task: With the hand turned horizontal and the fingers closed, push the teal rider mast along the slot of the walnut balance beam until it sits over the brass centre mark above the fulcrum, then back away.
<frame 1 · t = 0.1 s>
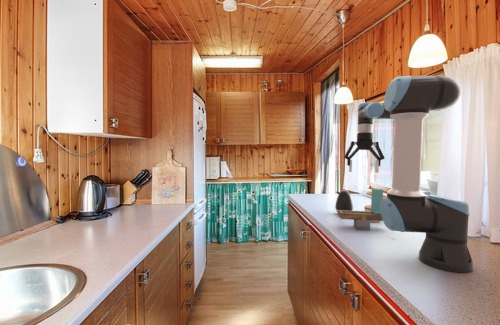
hand: (363, 172, 141), 28 cm above the countertop, tool pointing down, fingers open, 13 cm apart
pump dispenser: (343, 214, 162), on the countertop
rider: (376, 203, 132), point 13 cm above the countertop, slide at -7.0 cm
lidded jar: (374, 221, 149), on the countertop
beam: (361, 228, 133), on the countertop
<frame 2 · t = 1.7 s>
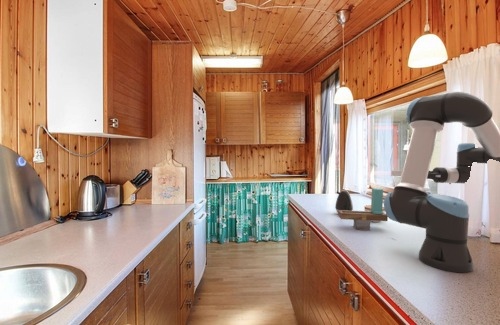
hand: (396, 173, 130), 28 cm above the countertop, tool horizontal, fingers open, 10 cm apart
nothing on the countertop moved.
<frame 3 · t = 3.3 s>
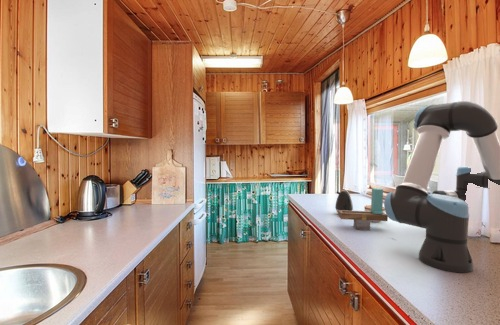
hand: (393, 197, 131), 16 cm above the countertop, tool horizontal, fingers closed
nothing on the countertop moved.
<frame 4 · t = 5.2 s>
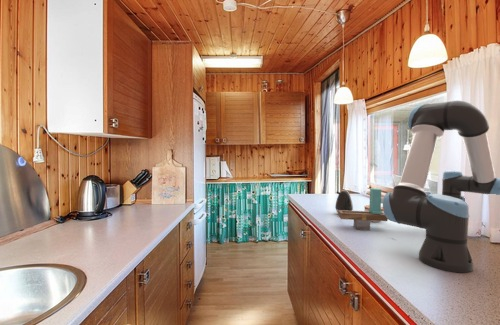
hand: (379, 200, 132), 14 cm above the countertop, tool horizontal, fingers closed
rider: (375, 203, 132), point 13 cm above the countertop, slide at -6.2 cm, touching gripper
everything else where it was.
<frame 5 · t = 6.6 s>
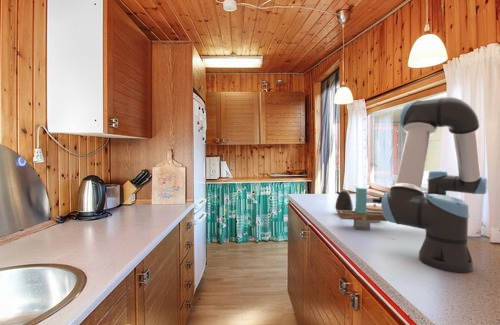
hand: (365, 199, 133), 14 cm above the countertop, tool horizontal, fingers closed
rider: (360, 202, 133), point 13 cm above the countertop, slide at 0.7 cm, touching gripper
everything else where it was.
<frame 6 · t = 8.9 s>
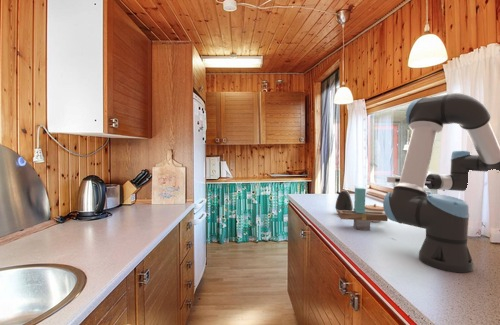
hand: (387, 179, 131), 25 cm above the countertop, tool horizontal, fingers closed
rider: (359, 202, 133), point 13 cm above the countertop, slide at 1.3 cm
everything else where it was.
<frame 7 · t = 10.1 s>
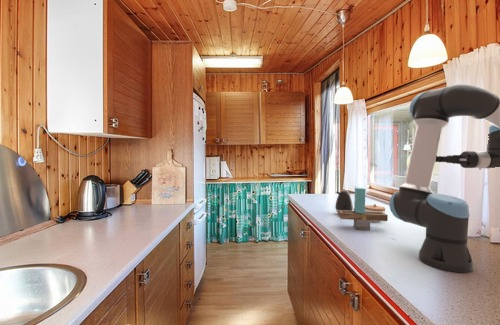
hand: (417, 158, 120), 36 cm above the countertop, tool horizontal, fingers closed
nothing on the countertop moved.
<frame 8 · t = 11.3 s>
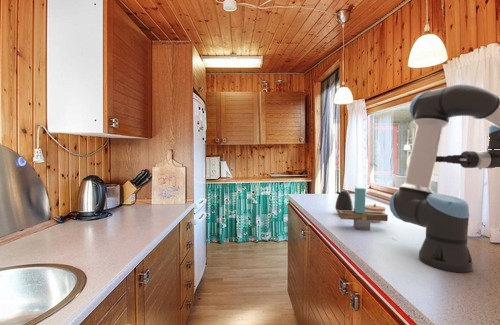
hand: (417, 158, 120), 36 cm above the countertop, tool horizontal, fingers closed
nothing on the countertop moved.
at the end: rider slide at 1.3 cm; the gripper is holding nothing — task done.
